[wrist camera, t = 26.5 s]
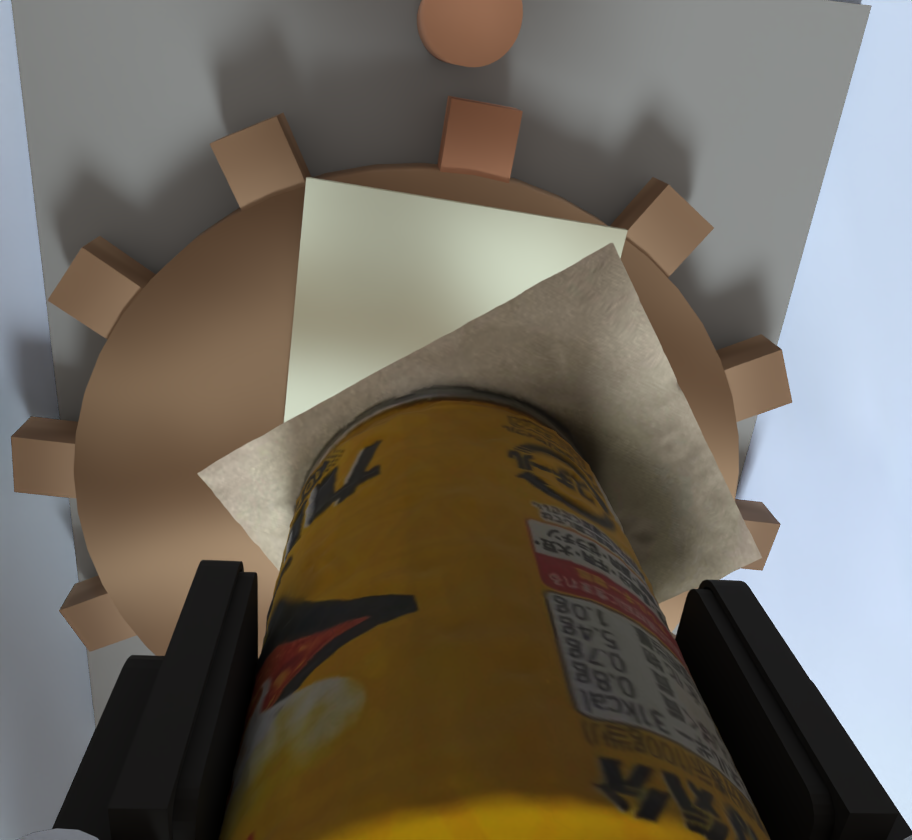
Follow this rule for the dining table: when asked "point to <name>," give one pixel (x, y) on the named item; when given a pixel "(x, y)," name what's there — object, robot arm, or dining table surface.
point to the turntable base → (433, 130)
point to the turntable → (329, 341)
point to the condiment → (490, 590)
